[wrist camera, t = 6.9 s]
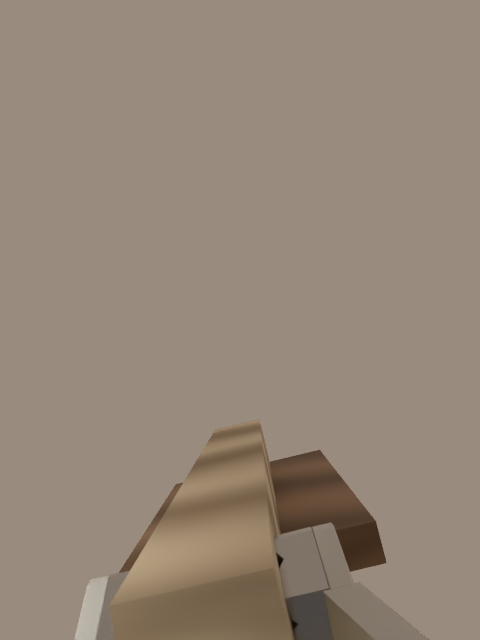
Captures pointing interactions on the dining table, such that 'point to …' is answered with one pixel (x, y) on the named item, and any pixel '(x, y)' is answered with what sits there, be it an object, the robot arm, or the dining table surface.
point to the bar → (211, 553)
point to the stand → (309, 509)
